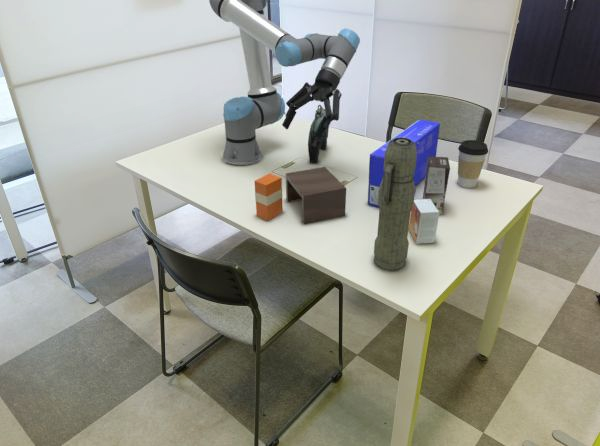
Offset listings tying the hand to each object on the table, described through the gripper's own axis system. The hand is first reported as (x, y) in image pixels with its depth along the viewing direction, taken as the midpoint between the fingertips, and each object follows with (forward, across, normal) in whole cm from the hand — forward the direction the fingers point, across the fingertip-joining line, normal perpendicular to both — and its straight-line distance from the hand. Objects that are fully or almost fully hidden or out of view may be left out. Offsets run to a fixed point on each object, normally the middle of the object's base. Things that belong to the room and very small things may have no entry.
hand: (300, 132), depth 154 cm
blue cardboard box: (-4, -23, -36) cm, 43 cm away
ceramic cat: (-6, +17, -39) cm, 43 cm away
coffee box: (+1, -38, -31) cm, 50 cm away
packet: (+28, 0, -5) cm, 28 cm away
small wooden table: (+19, -9, -14) cm, 25 cm away
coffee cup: (-15, -40, -48) cm, 64 cm away
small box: (+14, -44, -18) cm, 50 cm away
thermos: (+26, -44, -6) cm, 51 cm away
